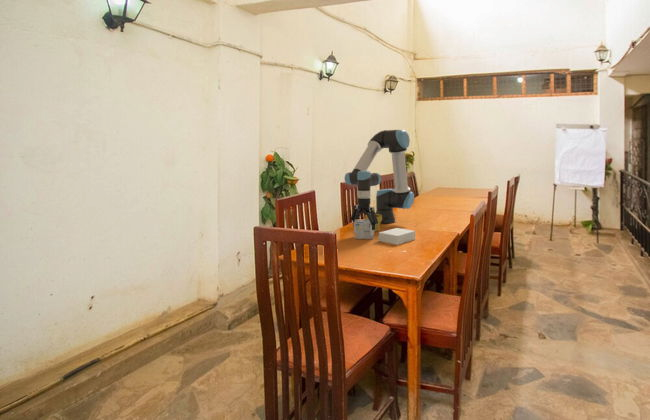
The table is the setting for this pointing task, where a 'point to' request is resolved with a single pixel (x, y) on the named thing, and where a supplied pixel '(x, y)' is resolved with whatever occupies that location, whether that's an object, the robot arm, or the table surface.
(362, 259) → the table surface
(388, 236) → the grey plinth
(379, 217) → the plant pot
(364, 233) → the light bulb box
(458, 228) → the table surface
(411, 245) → the table surface
